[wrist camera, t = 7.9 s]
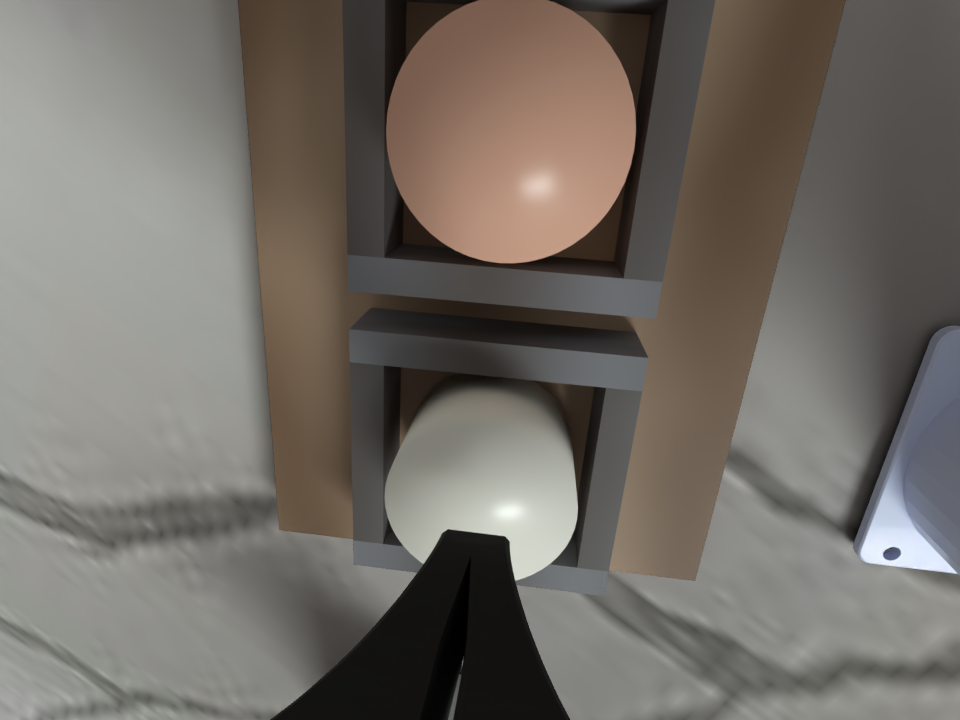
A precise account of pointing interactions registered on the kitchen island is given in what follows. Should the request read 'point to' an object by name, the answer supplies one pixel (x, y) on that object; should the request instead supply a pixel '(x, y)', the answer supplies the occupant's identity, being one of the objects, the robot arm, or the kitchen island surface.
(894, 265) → the kitchen island surface
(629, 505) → the three-slot key tray
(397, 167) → the terracotta key
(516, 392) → the cream rounded piece
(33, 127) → the kitchen island surface
